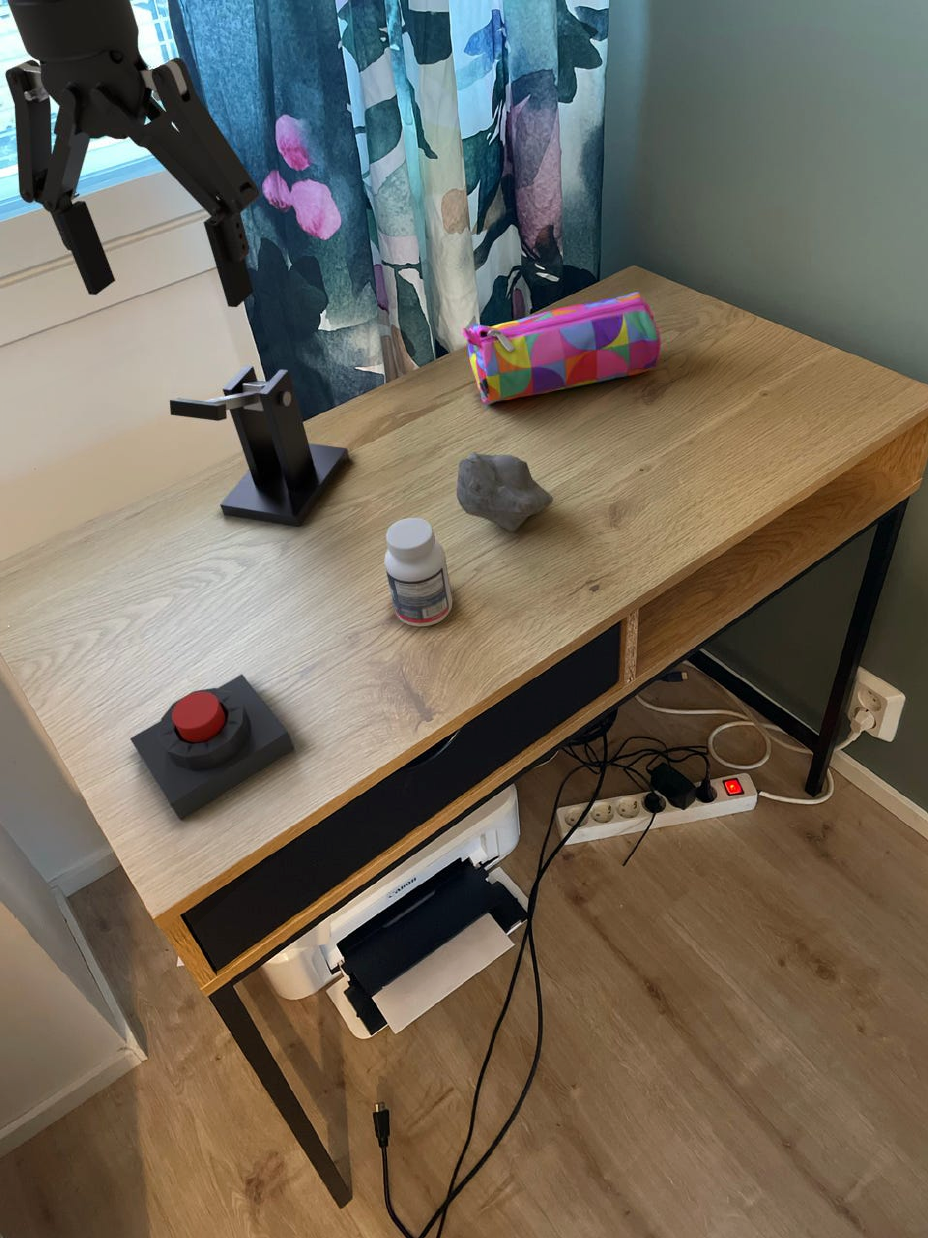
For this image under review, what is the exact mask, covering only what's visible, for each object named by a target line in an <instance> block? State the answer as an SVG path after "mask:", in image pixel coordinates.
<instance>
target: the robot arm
mask: <svg viewBox="0 0 928 1238" xmlns="http://www.w3.org/2000/svg"><path fill="white" fill-rule="evenodd" d="M6 1H7V4H8V7H9V9H10V12H11V14H12V18H13V19H14V22H15V25H16V29H17V30H18V33H19V36H20V38H21V41H22V43H23V46H24V48H25V51H26V53H27V54H28V55H29V56H30V57H31V58H32V59H29V60H26V61H24V62H22V63H20V64H17V65H15V66H13V67H11V68H9V69H6V71H5V73H4V76H5V80H6V83H7V86H8V89H9V92H10V95H11V98H12V101H13V104H14V120H15V121H14V122H15V138H16V156H17V159H16V160H17V175H18V193H19V195H20V197H21V199H22V200H23V201H24V202H26V203H28V204H32V203H37V204H39V205H42V207H43V209H44V210H45V211H47V212H48V213H50V215H51V217H52V220H53V223H54V224H55V227H56V229H57V232H58V235H59V237H60V240H61V243H62V244H63V246H64V247H65V249H66V250H67V251H70V252H71V254H72V257H73V259H74V262H75V265H76V267H77V269H78V272H79V274H80V277H81V279H82V281H83V284H84V286H85V289H86V291H87V294H88V295H90V296H97V295H99V294H100V293H101V292H102V291H103V290H105V289H106V288H108V287H109V286H110V285H112V284H113V283H114V282H115V281H116V278H115V275H114V273H113V271H112V267H111V264H110V263H109V259H108V257H107V254H106V252H105V249H104V247H103V244H102V241H101V239H100V236H99V233H98V231H97V228H96V225H95V223H94V221H93V218H92V215H91V213H90V211H89V207H88V205H87V202H86V201H85V200H77V201H76V202H74V203H73V200H75V199H77V198H79V196H80V193H77V192H78V191H77V189H78V186H79V181H80V177H81V175H82V170H83V166H84V163H85V159H86V156H87V152H88V148H89V144H90V141H91V140H92V139H94V140H99V139H101V138H105V137H108V138H111V139H115V140H126V139H128V138H129V139H130V140H131V141H132V142H133V143H134V144H135V145H136V146H138V147H139V148H144V149H146V150H147V151H148V152H149V153H150V154H151V155H152V157H154V158H155V159H156V160H157V161H158V162H159V164H161V166H162V167H164V169H165V170H166V171H167V172H168V173H169V174H170V175H171V176H172V177H173V179H175V180H176V181H177V182H178V183H179V184H180V186H182V187H183V188H184V189H185V191H187V193H188V194H189V195H190V196H191V197H192V198H193V199H194V200H195V201H196V202H197V203H198V204H199V205H200V206H201V207H202V208H203V209H204V210H205V211H206V212H207V213H208V214H209V216H210V217H208V218H207V219H205V221H203V222H202V223H203V226H204V230H205V233H206V236H207V239H208V243H209V246H210V249H211V254H212V256H213V261H214V263H215V266H216V269H217V270H216V271H217V274H218V276H219V280H220V284H221V287H222V289H223V294H224V297H225V300H226V304H227V307H229V308H238V307H239V306H240V305H241V304H242V303H243V302H244V301H246V299H247V298H249V297H250V296H251V295H252V294H253V293H254V288H253V284H252V281H251V277H250V273H249V270H248V265H247V262H246V259H245V258H246V257H247V256H248V255H249V254H250V244H249V242H248V237H247V235H246V234H247V233H246V230H245V226H244V222H243V218H242V213H243V211H245V210H246V209H247V208H248V207H249V206H251V205H253V203H255V202H256V201H258V200H259V198H260V195H261V193H260V190H259V188H258V186H257V184H256V183H255V181H254V180H253V178H252V177H251V175H250V173H249V172H248V170H247V169H246V167H245V166H244V164H243V163H242V161H241V159H240V158H239V156H238V155H237V154H236V153H235V151H234V149H233V147H232V146H231V145H230V143H229V141H228V140H227V138H226V137H225V135H224V133H223V132H222V131H221V129H220V128H219V126H218V125H217V123H216V122H215V120H214V118H213V117H212V115H211V114H210V112H209V110H207V107H206V106H205V105H204V103H203V101H202V100H201V99H200V97H199V95H198V94H197V92H196V89H195V86H194V83H193V79H192V78H191V75H190V73H189V69H188V67H187V64H186V62H185V61H184V60H183V59H182V58H180V57H173V58H171V59H170V60H167V61H165V62H164V63H162V64H159V65H153V66H148V65H147V63H146V61H145V60H144V58H143V56H142V54H141V52H140V48H139V35H140V33H139V32H140V29H139V25H138V22H137V19H136V15H135V13H134V9H133V6H132V3H131V0H6ZM37 61H38V62H39V63H38V62H37ZM51 98H52V100H53V101H54V102H55V103H56V104H57V105H58V110H57V115H56V119H55V123H54V128H53V134H54V135H55V140H54V145H53V144H52V143H53V141H52V140H53V138H52V137H53V135H52V106H51V105H52V104H51ZM159 102H161V104H162V106H161V105H160V103H159ZM147 119H148V121H149V122H147V123H146V120H147Z"/></svg>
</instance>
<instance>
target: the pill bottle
mask: <svg viewBox="0 0 928 1238" xmlns="http://www.w3.org/2000/svg"><path fill="white" fill-rule="evenodd" d="M385 539H386V540H385V541H386V545H387V550H386V552H385V555H384V569H385V573H386V577H387V581H388V587H389V590H390V594H391V600H392V603H393V604H392V605H393V608H394V612H395V614H396V616H397V617H398V619H399V620H400V621H401V622H402V623H405V624H406V625H409V626H413V627H429V626H433V625H435V624H438V623H440V622H441V621H443V620H444V619H445V618H446V617H447V616H448V615H449V614H450V612H451V610H452V608H453V594H452V593H453V592H452V587H451V583H450V578H449V571H448V565H447V559H446V554H445V549H444V547H443V546H442V544H441V543H440V542H439V541H438V540H437V539H436V536H435V531H434V528H433V526H432V524H431V523H430V521H427V520H425V519H424V518H420V517H406V518H403V519H399V520H397V521H395V522H394V523H393V524H392V525H390V526H389V528H388V529H387V531H386V534H385Z"/></svg>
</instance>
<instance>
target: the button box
mask: <svg viewBox="0 0 928 1238" xmlns="http://www.w3.org/2000/svg"><path fill="white" fill-rule="evenodd" d="M196 692H208V693H211V694H213V695H214V696H216V698H217V699H218V701H219V703H220V705H221V707H222V709H223V711H224V714H225V723H224V726H223V728H222V729H221V731H220V732H219V733H218V734H217V735H215V736H214V737H212V738H211V739H209V740H206V741H203V742H190V741H187V740H185V739H184V738H182V736H181V735H180V733H179V731H178V729H177V728H176V726H175V724H174V722H173V720H172V712H173V709H174V707H175V706H176V704H177V703H178V702H179V701H180V700H181V699H183V698H184V697H186V696H187V695H190V694H192V693H196ZM129 739H130V741H131V742H132V745H133V746H134V748H135V749H136V751H137V753H138V754H139V756H140V758H141V759H142V761H143V763H144V764H145V766H146V768H147V769H148V771H149V772H150V774H151V776H152V778H153V779H154V781H155V782H156V784H157V786H158V787H159V789H160V790H161V792H162V794H163V796H164V797H165V798H166V800H167V801H168V803H169V805H170V807H171V808H172V810H173V812H174V813H175V815H176V817H177V818H178V820H180V821H182V820H183V819H185V818H186V817H188V816H189V815H191V814H193V813H194V812H196V811H198V810H200V809H201V808H203V807H204V806H205V805H207V804H208V803H210V802H212V801H214V800H216V799H217V798H218V797H220V796H222V795H223V794H225V793H226V792H228V791H229V790H231V789H233V788H235V787H237V786H238V785H239V784H241V783H243V782H244V781H245V780H247V779H248V778H250V777H252V776H253V775H256V774H257V773H258V772H260V771H262V770H264V769H265V768H267V767H268V766H270V765H271V764H273V763H274V762H276V761H278V760H279V759H281V758H283V757H284V756H286V755H287V754H289V753H291V752H292V751H293V750H295V749H296V748H295V745H294V743H293V741H292V738H291V735H290V733H289V732H288V730H287V729H286V727H285V726H284V724H282V723H281V721H280V720H279V718H278V717H277V716H276V715H275V713H273V711H272V710H271V709H270V707H269V706H268V705H267V704H266V702H265V701H264V699H263V698H262V697H261V695H259V693H258V692H257V691H256V689H255V688H254V687H253V685H252V684H251V683H250V682H249V680H248V679H247V678H246V676H244V674H242V673H241V674H239V675H238V676H236V677H235V678H233V679H231V680H229V681H227V682H226V683H224V684H222V685H221V686H218V687H211V688H205V689H198V690H194V691H191V692H190V693H188V694H186V695H185V696H183V697H181V698H179V699H177V700H176V701H174V702H173V703H172V704H171V705H170V707H169V708H168V709H167V711H166V712H165V713H164V714H163V716H161V718H160V721H158V722H156V723H154V724H152V725H151V726H150V727H148V728H145V729H144V730H143V731H141V732H139V733H137V734H135V735H134V736H131V737H130V738H129Z"/></svg>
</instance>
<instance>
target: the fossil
mask: <svg viewBox="0 0 928 1238" xmlns="http://www.w3.org/2000/svg"><path fill="white" fill-rule="evenodd" d="M458 463H459V464H458V473H457V482H456V498H457V500H458V503H459V505H460V506H461V508H462V510H463V511H464V512H465V514H468V515H470V516H473V517H478V518H482V519H485V520H488V521H489V522H492V523H494V524H496V525H497V526H499V527H501V528H503V529H505V530H506V531H507V532H515V531H517V530H518V529H519V528H520V526H521V525H522V524H523V523H524V522H525V521H526V519H528V517H529V516H532V515H535V514H537V513H539V512H541V511H543V510H545V509H546V508H547V507H549V506H550V505H552V503H553V501H554V497H553V496H552V495H551V494H550V493H549V492H548V491H547V490H546V489H545V488H543V487H542V486H541V485H539V484H538V483H537V481H535V480H534V479H533V477H532V474H531V471H530V468H529V466H528V462H527V461H524V460H522V459H521V458H519V457H517V456H514V455H512V454H485V453H477V452H475V451H473V452H471V453H470V454H469V455H468V457H465V458H463V459H461V461H460V462H458Z"/></svg>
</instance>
